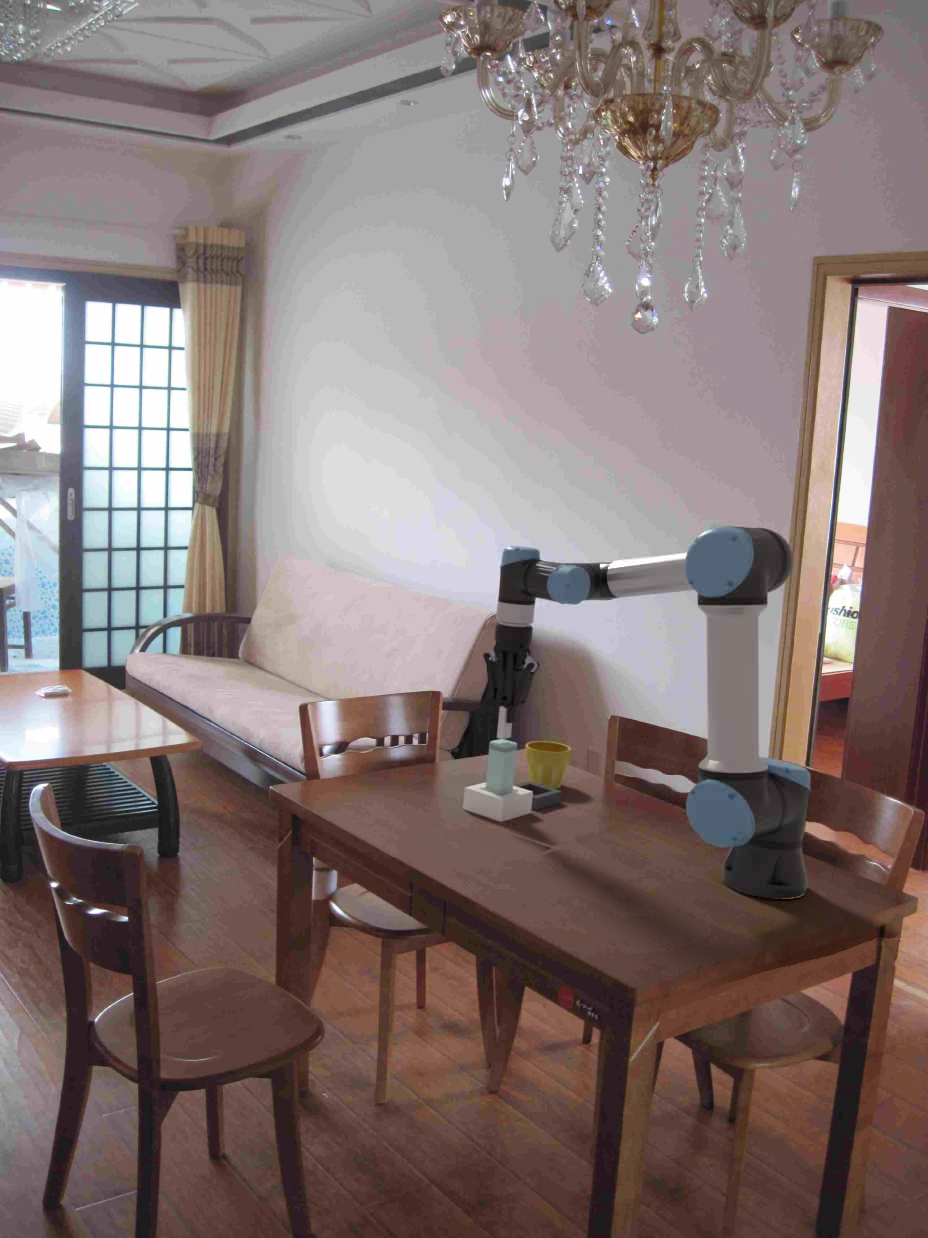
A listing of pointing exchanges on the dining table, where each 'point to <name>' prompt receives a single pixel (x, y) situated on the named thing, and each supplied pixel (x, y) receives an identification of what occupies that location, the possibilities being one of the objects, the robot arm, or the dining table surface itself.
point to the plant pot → (547, 762)
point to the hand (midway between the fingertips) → (503, 737)
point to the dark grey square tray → (541, 795)
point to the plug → (501, 767)
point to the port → (497, 802)
